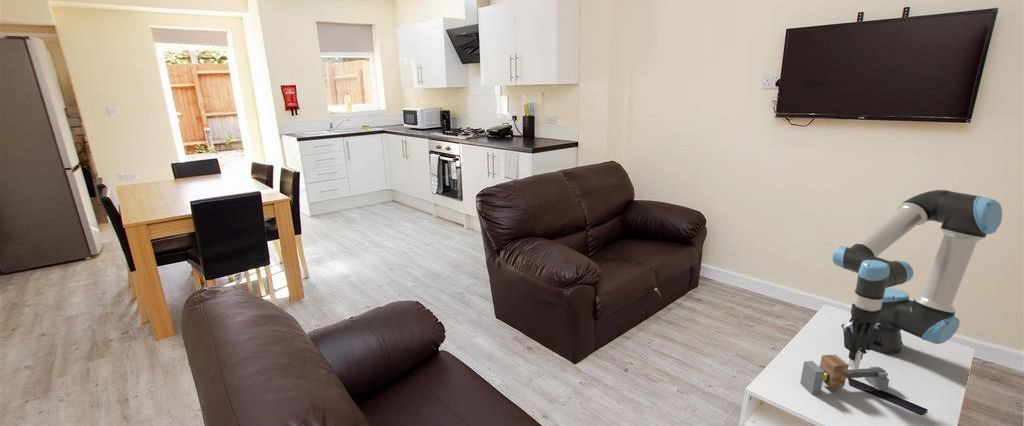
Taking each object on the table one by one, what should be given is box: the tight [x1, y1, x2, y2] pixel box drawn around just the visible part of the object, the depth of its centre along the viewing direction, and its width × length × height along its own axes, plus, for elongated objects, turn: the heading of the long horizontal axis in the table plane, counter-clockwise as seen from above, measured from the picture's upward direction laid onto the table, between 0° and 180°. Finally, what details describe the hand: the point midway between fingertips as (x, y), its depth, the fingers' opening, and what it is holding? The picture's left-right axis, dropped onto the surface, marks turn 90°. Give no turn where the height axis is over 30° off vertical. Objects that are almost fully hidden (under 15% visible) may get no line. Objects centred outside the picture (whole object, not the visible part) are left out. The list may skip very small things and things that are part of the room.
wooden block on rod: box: [819, 354, 850, 389], centre depth 158 cm, size 5×6×9 cm
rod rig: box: [799, 360, 890, 395], centre depth 159 cm, size 27×6×9 cm, turn 93°
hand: (853, 367), depth 158 cm, fingers closed
